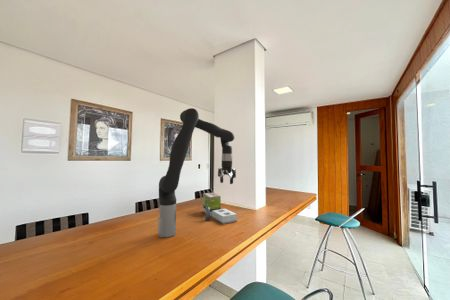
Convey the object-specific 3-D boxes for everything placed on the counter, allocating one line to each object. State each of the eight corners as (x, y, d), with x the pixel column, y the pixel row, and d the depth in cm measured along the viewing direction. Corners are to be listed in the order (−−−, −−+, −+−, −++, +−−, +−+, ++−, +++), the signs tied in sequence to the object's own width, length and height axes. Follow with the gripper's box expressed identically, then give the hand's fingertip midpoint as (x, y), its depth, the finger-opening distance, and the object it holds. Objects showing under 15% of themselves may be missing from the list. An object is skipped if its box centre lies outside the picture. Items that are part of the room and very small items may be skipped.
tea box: (202, 211, 152) (202, 193, 152) (213, 210, 156) (213, 192, 156) (208, 216, 138) (208, 196, 139) (221, 215, 142) (221, 195, 143)
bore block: (223, 224, 122) (223, 216, 122) (212, 217, 136) (212, 210, 136) (236, 221, 128) (236, 214, 128) (224, 215, 142) (224, 208, 142)
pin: (206, 221, 128) (206, 208, 128) (204, 220, 130) (204, 207, 131) (210, 220, 129) (210, 207, 130) (208, 219, 132) (208, 206, 132)
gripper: (215, 160, 133) (215, 182, 132) (231, 160, 124) (231, 184, 123) (222, 160, 138) (222, 182, 138) (238, 160, 129) (237, 183, 129)
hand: (226, 183), depth 130 cm, fingers open, 8 cm apart
